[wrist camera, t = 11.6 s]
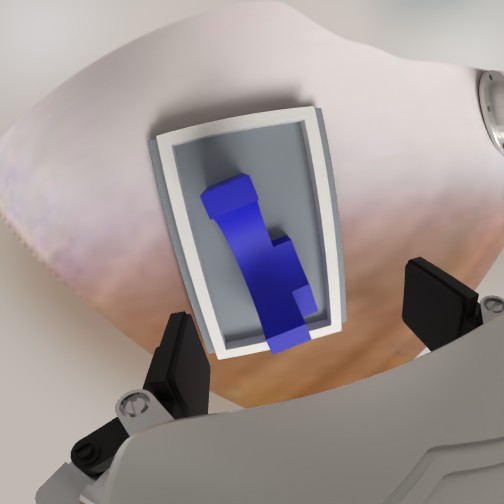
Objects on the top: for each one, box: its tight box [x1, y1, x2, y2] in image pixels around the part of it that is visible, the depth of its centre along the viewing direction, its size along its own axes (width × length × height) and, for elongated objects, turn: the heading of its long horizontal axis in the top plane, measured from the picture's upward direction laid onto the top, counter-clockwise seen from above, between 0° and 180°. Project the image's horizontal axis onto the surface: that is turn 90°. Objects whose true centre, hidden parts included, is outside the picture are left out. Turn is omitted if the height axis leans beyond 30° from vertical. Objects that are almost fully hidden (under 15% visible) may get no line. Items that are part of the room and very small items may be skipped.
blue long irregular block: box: [200, 173, 318, 354], centre depth 20 cm, size 12×4×6 cm, turn 22°
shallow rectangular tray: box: [148, 106, 346, 360], centre depth 22 cm, size 14×20×2 cm
